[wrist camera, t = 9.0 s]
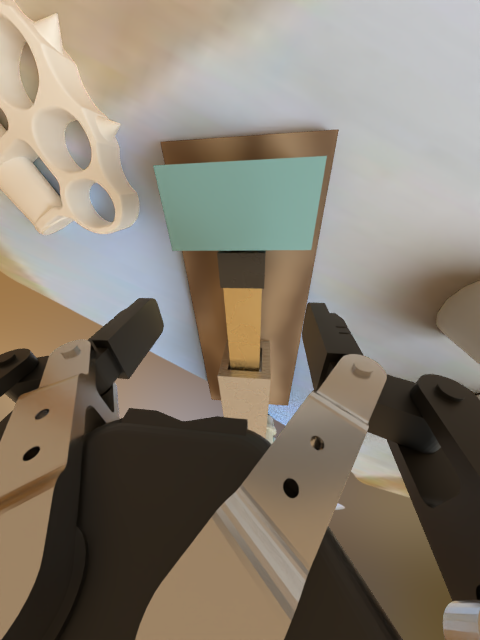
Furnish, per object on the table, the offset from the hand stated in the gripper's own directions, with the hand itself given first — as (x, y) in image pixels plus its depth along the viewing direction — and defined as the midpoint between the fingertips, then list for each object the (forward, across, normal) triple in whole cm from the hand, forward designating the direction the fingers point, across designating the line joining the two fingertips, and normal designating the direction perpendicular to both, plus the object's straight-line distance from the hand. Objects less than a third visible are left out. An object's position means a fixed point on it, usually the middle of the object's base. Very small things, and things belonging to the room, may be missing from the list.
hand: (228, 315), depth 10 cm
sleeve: (+12, 0, +19) cm, 23 cm away
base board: (+14, 0, +9) cm, 16 cm away
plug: (+11, 0, +6) cm, 12 cm away
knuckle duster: (+14, +18, -10) cm, 25 cm away
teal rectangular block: (+12, 0, -4) cm, 13 cm away
